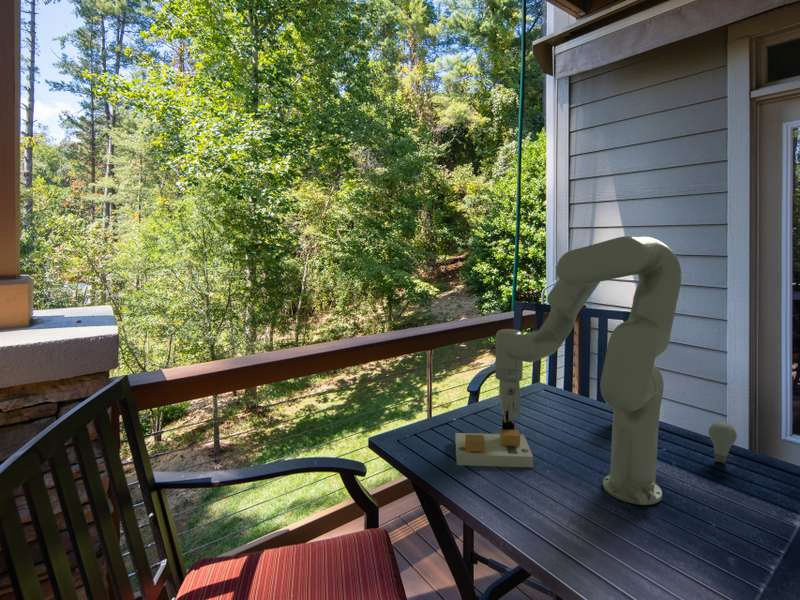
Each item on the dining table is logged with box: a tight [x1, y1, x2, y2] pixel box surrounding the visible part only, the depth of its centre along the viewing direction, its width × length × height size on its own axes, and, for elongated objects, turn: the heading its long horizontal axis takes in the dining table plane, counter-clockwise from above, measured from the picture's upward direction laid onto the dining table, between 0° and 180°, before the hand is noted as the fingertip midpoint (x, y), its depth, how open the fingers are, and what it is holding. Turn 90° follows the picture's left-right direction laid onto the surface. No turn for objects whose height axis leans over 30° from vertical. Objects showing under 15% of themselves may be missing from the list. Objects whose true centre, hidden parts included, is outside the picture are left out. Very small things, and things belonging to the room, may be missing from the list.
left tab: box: [465, 434, 485, 452], centre depth 124 cm, size 4×5×3 cm
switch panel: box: [454, 432, 534, 468], centre depth 127 cm, size 14×20×3 cm
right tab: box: [499, 429, 521, 446], centre depth 127 cm, size 4×5×3 cm
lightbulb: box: [707, 421, 738, 464], centre depth 120 cm, size 6×6×11 cm
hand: (508, 434), depth 131 cm, fingers closed
